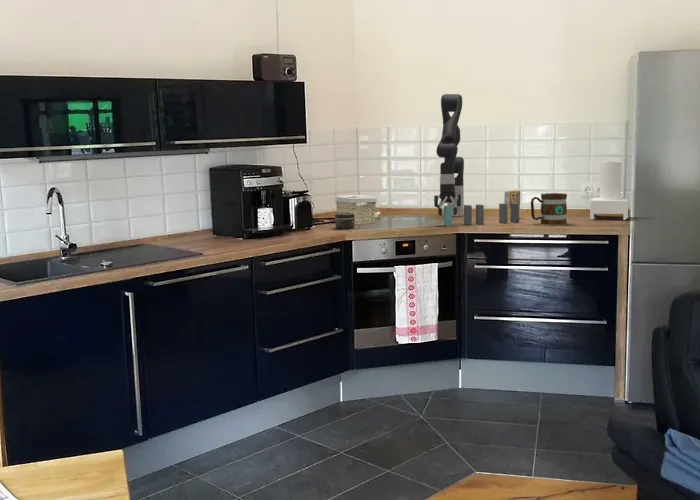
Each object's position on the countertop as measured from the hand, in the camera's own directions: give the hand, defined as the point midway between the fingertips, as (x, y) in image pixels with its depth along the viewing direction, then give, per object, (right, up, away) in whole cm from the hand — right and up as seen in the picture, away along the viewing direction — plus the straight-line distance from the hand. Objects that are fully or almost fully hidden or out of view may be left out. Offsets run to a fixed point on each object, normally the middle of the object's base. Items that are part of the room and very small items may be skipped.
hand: (447, 215), depth 410 cm
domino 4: (+36, -3, +9) cm, 37 cm away
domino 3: (+30, -4, +7) cm, 31 cm away
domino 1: (+11, -5, +3) cm, 12 cm away
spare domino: (0, -5, +1) cm, 5 cm away
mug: (+52, -5, 0) cm, 52 cm away
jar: (-53, -7, -1) cm, 53 cm away
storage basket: (-47, -3, +26) cm, 54 cm away
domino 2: (+17, -4, +4) cm, 18 cm away
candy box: (+38, -1, +26) cm, 47 cm away
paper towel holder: (+90, -1, +20) cm, 92 cm away
